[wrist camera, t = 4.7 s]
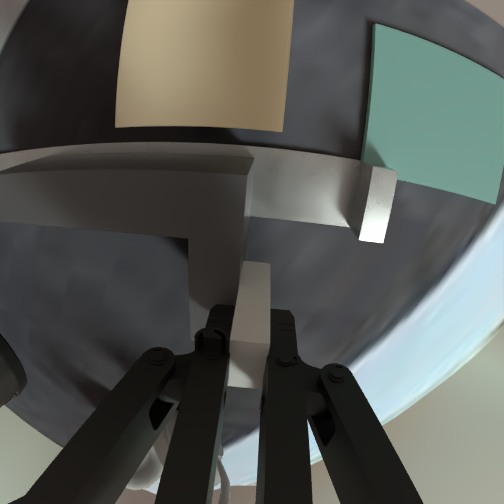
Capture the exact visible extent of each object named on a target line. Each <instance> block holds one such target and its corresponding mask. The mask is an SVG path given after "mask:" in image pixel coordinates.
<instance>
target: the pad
mask: <svg viewBox="0 0 504 504" xmlns="http://www.w3.org/2000/svg"><path fill="white" fill-rule="evenodd" d="M361 161H363V162H368V163H373V164H378V165H383V166H387V167H389V168H392V169H394V170H396V171H398V176H397V180H402V181H407V182H412V183H416V184H421V185H425V186H429V187H433V188H437V189H441V190H445V191H449V192H453V193H457V194H461V195H464V196H468V197H472V198H475V199H479V200H482V201H486V202H489V203H492V204H496V200H497V195H498V191H499V186H500V181H501V176H502V171H503V165H504V79H503V78H501V77H500V76H498V75H496V74H495V73H493V72H491V71H489V70H488V69H486V68H484V67H482V66H480V65H478V64H477V63H475V62H473V61H471V60H469V59H467V58H465V57H463V56H461V55H459V54H457V53H454V52H452V51H450V50H448V49H446V48H443V47H441V46H439V45H436V44H434V43H431V42H429V41H426V40H424V39H421V38H419V37H416V36H413V35H411V34H408V33H405V32H402V31H399V30H396V29H393V28H390V27H386V26H383V25H380V24H376V23H375V24H374V25H373V31H372V54H371V70H370V83H369V94H368V104H367V114H366V122H365V131H364V138H363V146H362V153H361ZM362 165H363V163H362ZM361 172H362V168H361Z"/></svg>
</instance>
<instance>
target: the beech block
mask: <svg viewBox="0 0 504 504" xmlns="http://www.w3.org/2000/svg"><path fill="white" fill-rule="evenodd" d="M293 6H294V0H129V2H128V7H127V12H126V18H125V24H124V30H123V37H122V44H121V52H120V61H119V71H118V82H117V96H116V115H115V128H117V127H139V126H205V127H227V128H243V129H256V130H267V131H277V132H282V130H283V120H284V110H285V100H286V89H287V78H288V67H289V55H290V44H291V32H292V19H293Z"/></svg>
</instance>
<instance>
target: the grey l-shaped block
mask: <svg viewBox="0 0 504 504" xmlns="http://www.w3.org/2000/svg"><path fill="white" fill-rule="evenodd" d="M254 161H255V158H247V157H234V156H220V155H202V154H176V153H106V154H82V155H65V156H52V157H42V158H39V159H36V160H32V161H29V162H26V163H23V164H20V165H17V166H14V167H11V168H8V169H5V170H2V171H0V222H9V223H21V224H33V225H45V226H56V227H68V228H79V229H90V230H101V231H112V232H123V233H134V234H145V235H156V236H166V237H177V238H187V239H188V271H189V307H190V330H191V341H195V338H194V336H195V334H196V332H197V331H199V330H200V329H202V328H205V326H206V323H207V319H208V316H209V312H210V309H211V308H212V307H213V306H215V305H216V304H222V305H231V306H236V301H237V295H238V289H239V284H240V278H241V273H242V267H243V262H244V261H246V254H247V242H248V231H249V219H250V207H251V196H252V184H253V173H254Z"/></svg>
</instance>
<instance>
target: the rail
mask: <svg viewBox="0 0 504 504" xmlns="http://www.w3.org/2000/svg"><path fill="white" fill-rule="evenodd" d="M106 153H176V154H202V155H220V156H234V157H247V158H255V161H254V173H253V184H252V196H251V207H250V216H255V217H265V218H275V219H284V220H293V221H302V222H311V223H320V224H328V225H336V226H345V227H350V228H351V229H352V231H353V232H354V234H355V235H356V237H357V238H358V240H362V241H370V242H378V243H383V241H384V237H385V233H386V229H387V224H388V220H389V216H390V211H391V207H392V202H393V197H394V192H395V187H396V182H397V176H398V171H396V170H394V169H392V168H389V167H387V166H383V165H378V164H373V163H368V162H363V161H361V160H356V159H350V158H344V157H338V156H332V155H325V154H319V153H311V152H304V151H296V150H288V149H279V148H269V147H259V146H247V145H234V144H218V143H196V142H115V143H94V144H79V145H67V146H56V147H46V148H38V149H30V150H22V151H15V152H9V153H3V154H0V171H2V170H5V169H8V168H11V167H14V166H17V165H20V164H23V163H26V162H29V161H32V160H36V159H39V158H42V157H52V156H65V155H82V154H106ZM362 163H363V165H362ZM361 168H362V172H361Z"/></svg>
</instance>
